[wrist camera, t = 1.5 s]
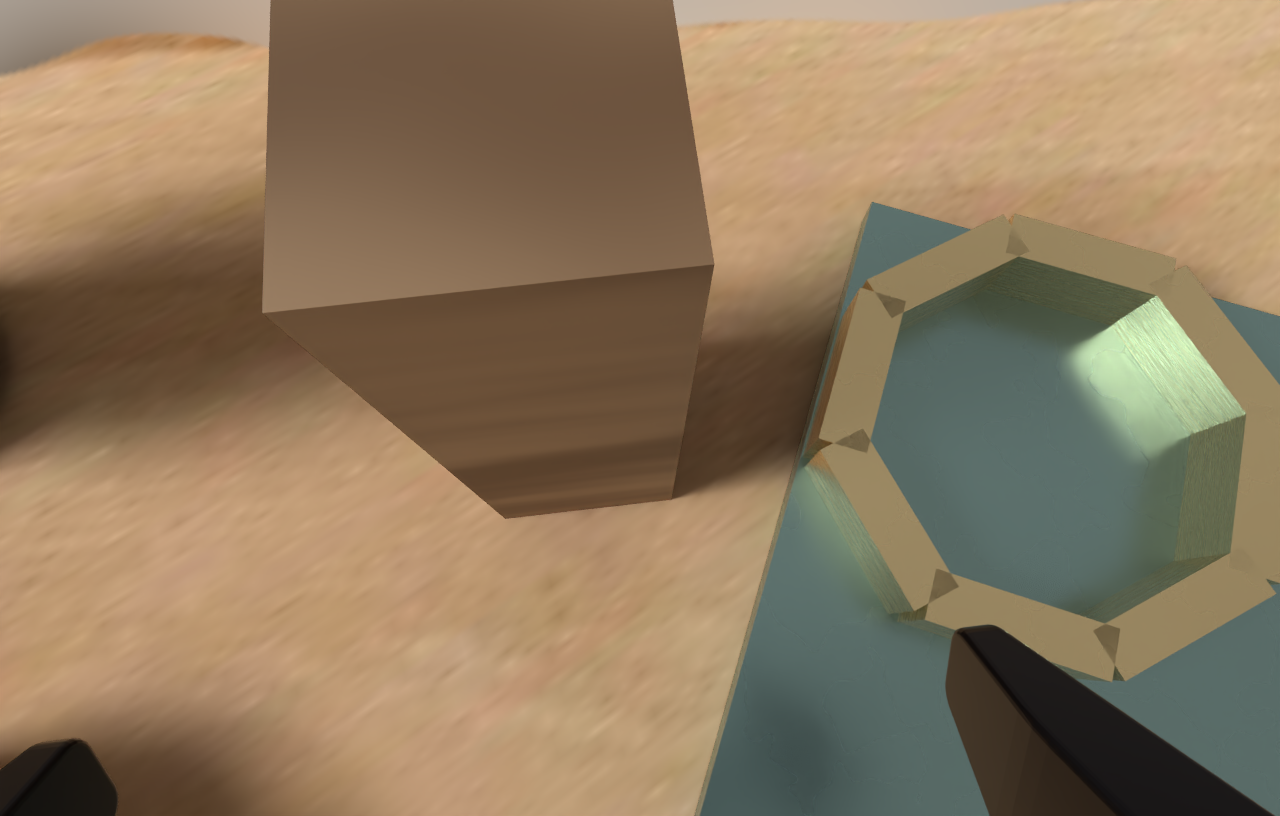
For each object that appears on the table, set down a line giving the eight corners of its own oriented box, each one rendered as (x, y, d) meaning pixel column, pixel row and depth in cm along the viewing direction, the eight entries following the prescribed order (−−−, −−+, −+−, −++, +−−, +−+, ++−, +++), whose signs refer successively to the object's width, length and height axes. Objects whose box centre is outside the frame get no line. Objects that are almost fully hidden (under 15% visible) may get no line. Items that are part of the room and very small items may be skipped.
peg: (671, 499, 21) (714, 264, 8) (505, 518, 21) (262, 312, 8) (651, 344, 23) (660, -83, 9) (495, 362, 22) (272, -45, 9)
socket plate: (1322, 1076, 17) (1455, 1163, 15) (687, 840, 19) (694, 876, 16) (1370, 363, 22) (1478, 322, 19) (863, 219, 24) (892, 161, 21)
